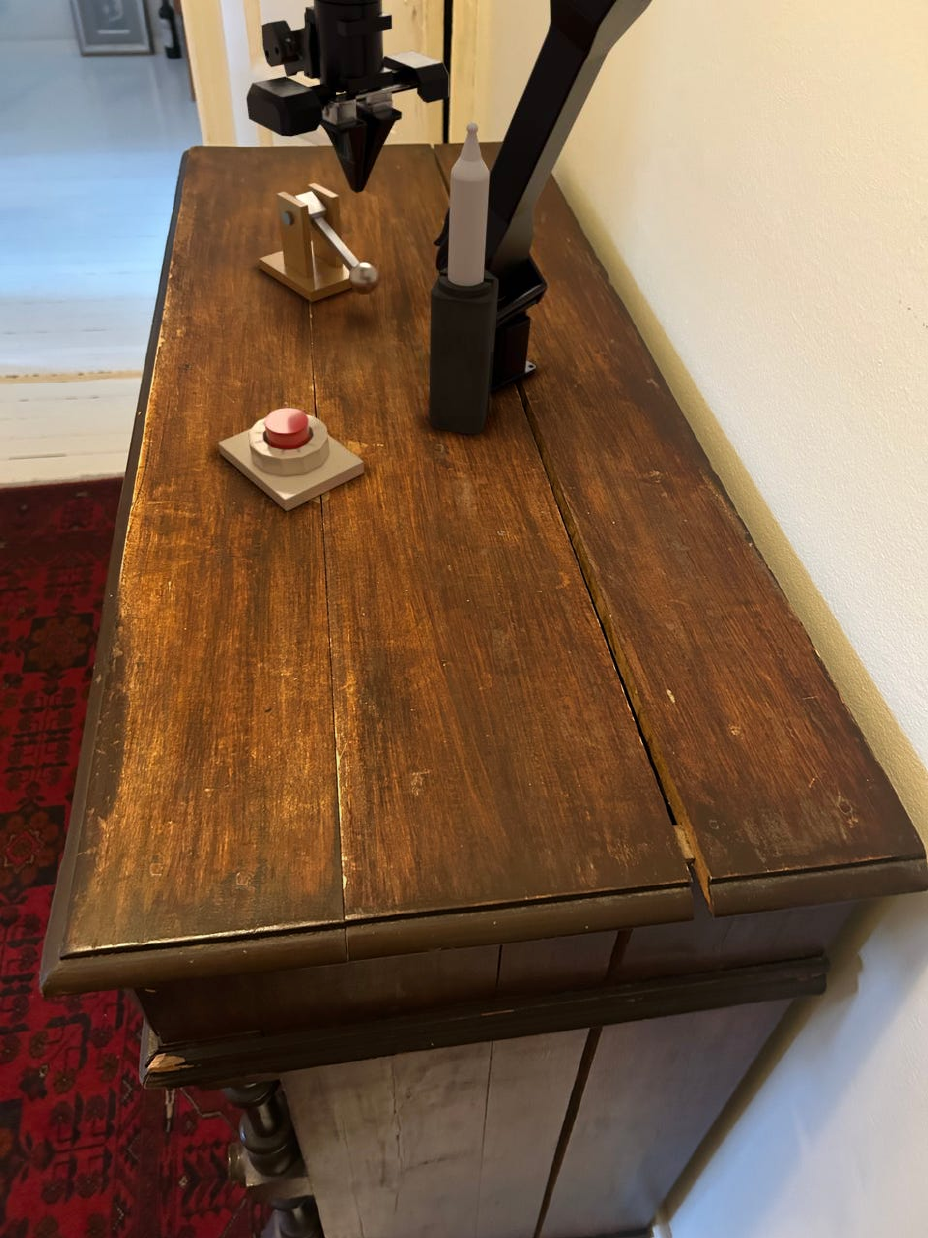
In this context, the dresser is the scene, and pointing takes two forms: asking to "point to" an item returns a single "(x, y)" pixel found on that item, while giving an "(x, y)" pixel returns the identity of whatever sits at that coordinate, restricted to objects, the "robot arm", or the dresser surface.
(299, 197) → the tap lever
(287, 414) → the button
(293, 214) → the tap bracket
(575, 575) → the dresser surface
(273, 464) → the button block
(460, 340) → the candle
